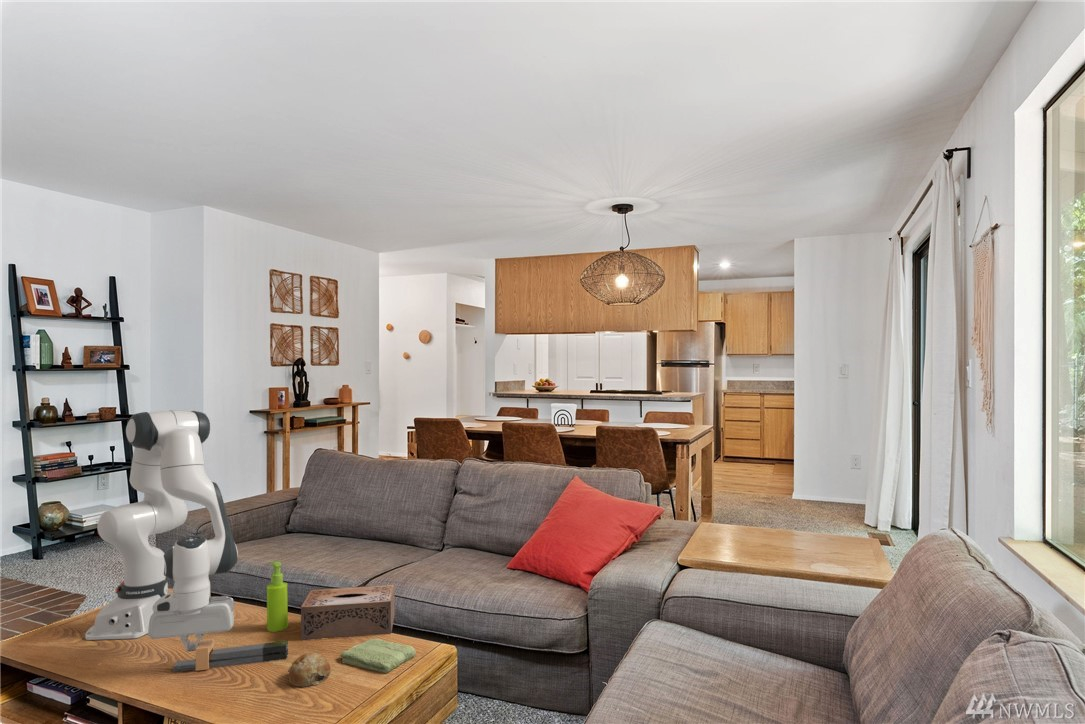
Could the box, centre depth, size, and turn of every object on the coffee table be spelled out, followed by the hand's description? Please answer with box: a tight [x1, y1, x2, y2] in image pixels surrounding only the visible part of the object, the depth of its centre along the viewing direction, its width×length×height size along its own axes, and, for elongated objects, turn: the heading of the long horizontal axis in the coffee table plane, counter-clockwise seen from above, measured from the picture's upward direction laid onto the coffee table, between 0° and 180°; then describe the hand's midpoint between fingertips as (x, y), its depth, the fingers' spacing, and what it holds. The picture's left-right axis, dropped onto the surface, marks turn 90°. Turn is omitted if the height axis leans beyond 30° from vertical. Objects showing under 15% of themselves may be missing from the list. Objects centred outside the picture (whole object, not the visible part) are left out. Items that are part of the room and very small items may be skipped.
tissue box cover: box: [300, 584, 396, 641], centre depth 196 cm, size 26×14×10 cm, turn 99°
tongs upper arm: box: [194, 640, 289, 661], centre depth 174 cm, size 23×3×2 cm, turn 104°
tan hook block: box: [195, 638, 215, 672], centre depth 172 cm, size 3×6×6 cm, turn 14°
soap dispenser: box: [266, 560, 289, 633], centre depth 197 cm, size 6×7×20 cm
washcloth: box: [339, 638, 417, 674], centre depth 175 cm, size 13×18×3 cm
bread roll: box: [287, 652, 331, 688], centre depth 164 cm, size 10×10×8 cm
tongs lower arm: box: [173, 647, 289, 673], centre depth 173 cm, size 28×3×2 cm, turn 104°
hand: (192, 650), depth 171 cm, fingers closed
